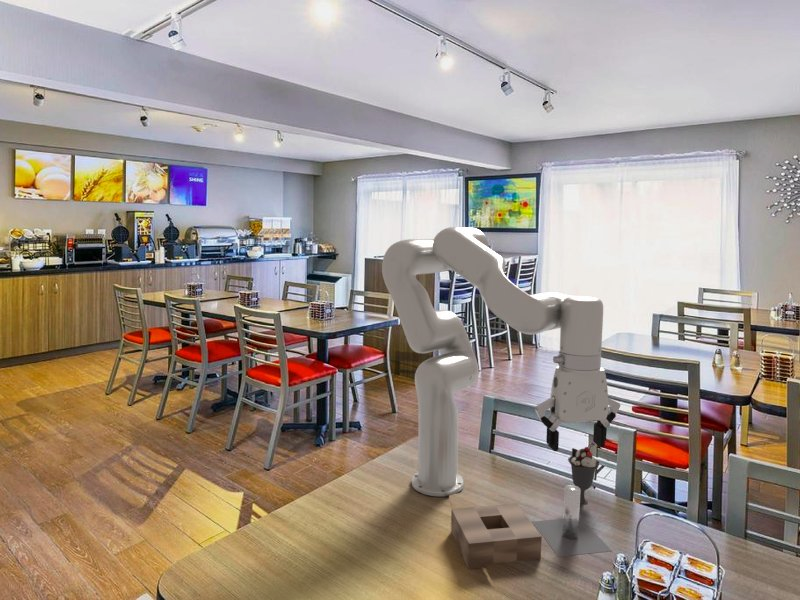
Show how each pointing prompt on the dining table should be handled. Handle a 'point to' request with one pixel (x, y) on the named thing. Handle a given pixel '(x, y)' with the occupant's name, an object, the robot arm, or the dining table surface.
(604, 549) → the mat
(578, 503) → the peg
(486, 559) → the hole block
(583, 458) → the sundae
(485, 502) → the dining table surface
